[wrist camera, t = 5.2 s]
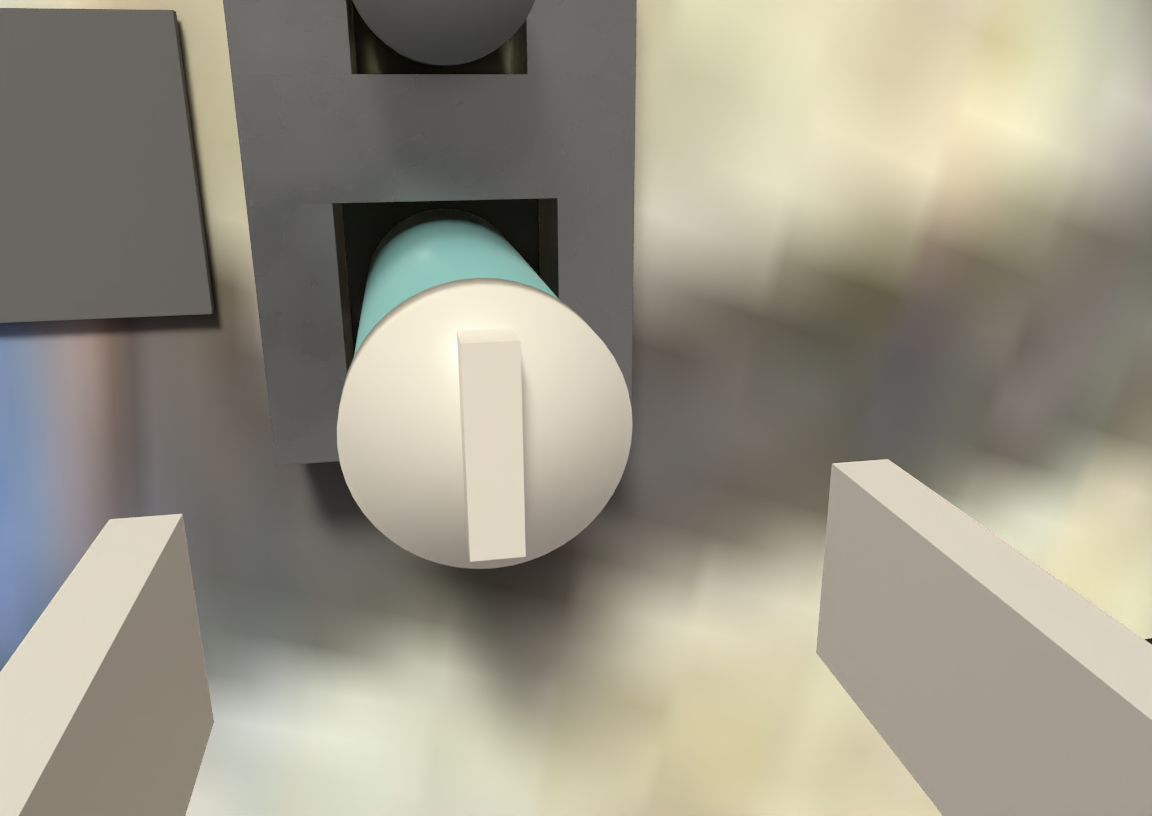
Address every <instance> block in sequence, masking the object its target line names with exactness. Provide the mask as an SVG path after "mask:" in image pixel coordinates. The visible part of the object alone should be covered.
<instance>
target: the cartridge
mask: <svg viewBox="0 0 1152 816" xmlns="http://www.w3.org/2000/svg"><path fill="white" fill-rule="evenodd" d="M631 438H632V408H631V403H630V398H629V393H628V389H627V386H626V383H625V380H624V377H623V374H622V372H621V370H620V368H619V366H618V364H617V362H616V360H615V358H614V357H613V355H612V354H611V352H610V351H609V349H608V348H607V346H606V345H605V344H604V342H603V341H602V340H601V339H600V338H599V337H598V336H597V334H596V333H595V332H594V331H593V330H592V329H591V328H590V327H589V326H588V325H587V323H586V322H585V321H584V320H583V319H582V318H581V317H580V316H579V315H578V314H577V313H576V312H575V311H573V310H572V309H571V308H570V307H568V306H567V305H566V304H565V303H563V302H562V301H560V300H559V299H558V298H557V297H556V295H555V294H554V293H553V292H552V291H551V290H550V289H549V287H548V286H547V285H546V284H545V283H544V282H543V281H542V279H541V278H540V277H539V276H538V275H537V274H536V272H535V271H534V270H533V269H532V268H531V267H530V266H529V264H528V263H527V262H526V261H525V260H524V259H523V258H522V256H521V255H520V254H519V253H518V252H517V251H516V249H515V248H514V247H513V246H512V245H511V244H510V243H509V241H508V240H507V239H506V238H505V237H504V236H503V235H502V234H501V233H500V231H499V230H497V229H496V228H495V227H494V226H493V225H491V224H490V223H488V222H487V221H485V220H484V219H482V218H480V217H478V216H476V215H474V214H471V213H468V212H465V211H460V210H455V209H433V210H428V211H424V212H420V213H417V214H415V215H412V216H410V217H408V218H406V219H405V220H403V221H401V222H400V223H399V224H397V225H396V226H394V227H393V228H392V229H391V230H390V231H389V232H388V233H387V234H386V235H385V237H384V238H383V239H382V240H381V242H380V243H379V245H378V247H377V248H376V250H375V252H374V255H373V257H372V259H371V263H370V266H369V270H368V276H367V282H366V288H365V294H364V300H363V306H362V312H361V317H360V323H359V329H358V335H357V341H356V347H355V353H354V358H353V360H352V362H351V365H350V367H349V369H348V372H347V375H346V379H345V383H344V387H343V391H342V396H341V401H340V407H339V414H338V422H337V448H338V454H339V460H340V465H341V468H342V472H343V475H344V478H345V481H346V484H347V486H348V488H349V490H350V492H351V494H352V496H353V498H354V500H355V501H356V503H357V504H358V506H359V507H360V509H361V510H362V512H363V513H364V515H365V516H366V517H367V518H368V519H369V520H370V521H371V523H372V524H373V525H374V526H375V527H376V528H377V529H378V530H379V531H380V532H382V533H383V534H384V535H385V536H386V537H387V538H389V539H390V540H391V541H393V542H394V543H396V544H397V545H399V546H400V547H402V548H403V549H405V550H407V551H409V552H411V553H413V554H415V555H417V556H419V557H421V558H424V559H427V560H430V561H433V562H436V563H439V564H443V565H448V566H453V567H459V568H471V569H487V568H499V567H506V566H512V565H516V564H519V563H523V562H527V561H530V560H533V559H535V558H538V557H540V556H543V555H545V554H547V553H549V552H551V551H553V550H555V549H557V548H558V547H560V546H562V545H564V544H565V543H567V542H568V541H569V540H571V539H572V538H574V537H575V536H576V535H578V534H579V533H580V532H581V531H582V530H583V529H585V528H586V527H587V526H588V525H589V524H590V523H591V522H592V521H593V520H594V519H595V518H596V516H597V515H598V514H599V513H600V512H601V511H602V510H603V508H604V507H605V505H606V504H607V502H608V501H609V499H610V498H611V496H612V495H613V493H614V491H615V489H616V487H617V485H618V483H619V482H620V480H621V477H622V475H623V472H624V469H625V466H626V463H627V460H628V456H629V451H630V446H631Z"/></svg>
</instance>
